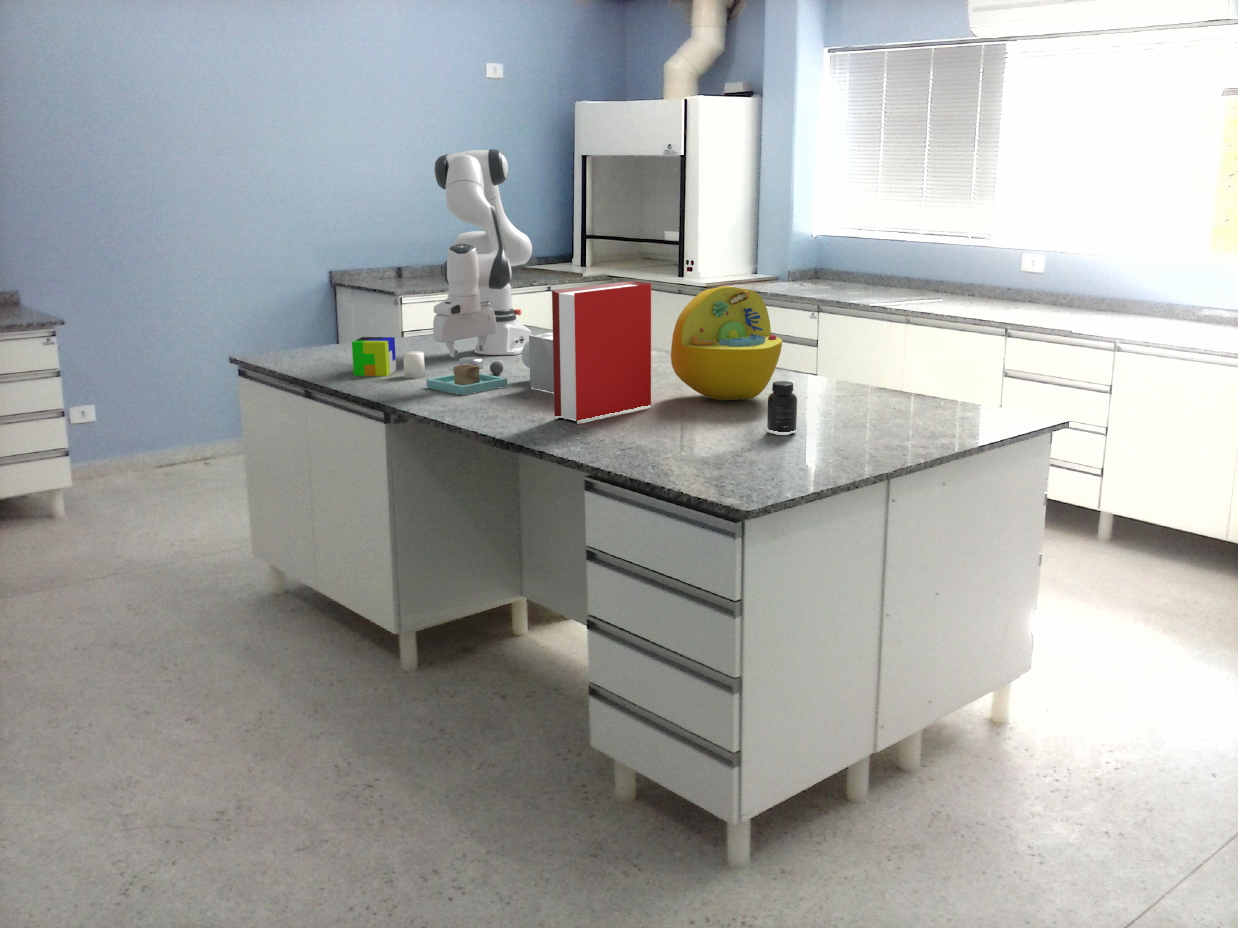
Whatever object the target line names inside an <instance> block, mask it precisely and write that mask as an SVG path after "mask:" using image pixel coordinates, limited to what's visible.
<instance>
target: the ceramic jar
mask: <svg viewBox="0 0 1238 928" xmlns="http://www.w3.org/2000/svg"><path fill="white" fill-rule="evenodd" d="M402 357H403V376H404V377H403V378H404V379H410V378H412V379H415V378H416V379H422V378H425V377H426V372H425V371H426V368H425V367H426V366H425V352H423V351H417V350H416V351H412V350H411V351H406V352H403V353H402Z"/></svg>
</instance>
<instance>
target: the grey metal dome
mask: <svg viewBox="0 0 1238 928" xmlns="http://www.w3.org/2000/svg"><path fill="white" fill-rule="evenodd" d="M483 362H484V361H483V357H480V356H467V357H466V356H465V357H461V358H459V365H465V364H470V365H476V366H479V370H482V369H484V363H483Z"/></svg>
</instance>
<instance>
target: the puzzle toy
mask: <svg viewBox="0 0 1238 928" xmlns="http://www.w3.org/2000/svg"><path fill="white" fill-rule="evenodd" d="M395 338H396V337H394V336H391V337H389V336H387V337H386V336H361V337H359V338H357V339H356V340H355V339H354V340H353V341H352V342H351V349H352V350H351V352H352V366H353V369H352V370H353V376H355V377H356V376H364V377H372V376H373V377H388V376H389V375H391V374H392V373H393V372H395V371H397V360H396V359H397V358H396V342H395V341H396V340H395ZM390 373H391V374H390Z"/></svg>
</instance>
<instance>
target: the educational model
mask: <svg viewBox="0 0 1238 928" xmlns="http://www.w3.org/2000/svg"><path fill="white" fill-rule="evenodd" d="M671 339H672V340H671V348H670V363H671V367H672V370H673V372H674V373H675V375H676V376H677V377H678V379H680V380H681V381H682V382H683V383H684V385H687V387H689V388H691V389H692V390H694V391H695V392H696V393H698V394H699V395H702V396H704V398H705V397H706V398H708V399H713V400H716V399H717V400H716V401H724V400H729V401H737V400H736V399H744V400H750V399H754V398H756V397H758V396H759V395H761V393H762V392H763V391H764V390H765V389H766V387H767V386H768V384H769V383H770V381H771V379H772V377H773V374H774V372H775V370H776V367H777V365H778V361H779V359H780V355H781V352H782V346H783V339H782V338H781V337H778V336H777V335H775V334H772V329H771V321H770V316H769V311H768V308H767V306H766V303H765V301H764V299H763V298H762V296H761V295H760V294H759V293H758V292H756V291H754V290H751V289H747V288H743V287H742V288H741V287H735V286H730V285H729V286H727V285H726V286H724V285H723V286H720V287H719V286H718V287H714V288H709V289H705V290H703V291H700V292H699V293H698V294H696V295H695V296H694V297H693V298H692V299H691V300H690V301H688V303H687V304H686V306H684V308H683V309H682V311H681V312H680V313H679V315H678V317H677V319H676V322H675V325H674V329H673V333H672V338H671Z"/></svg>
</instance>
